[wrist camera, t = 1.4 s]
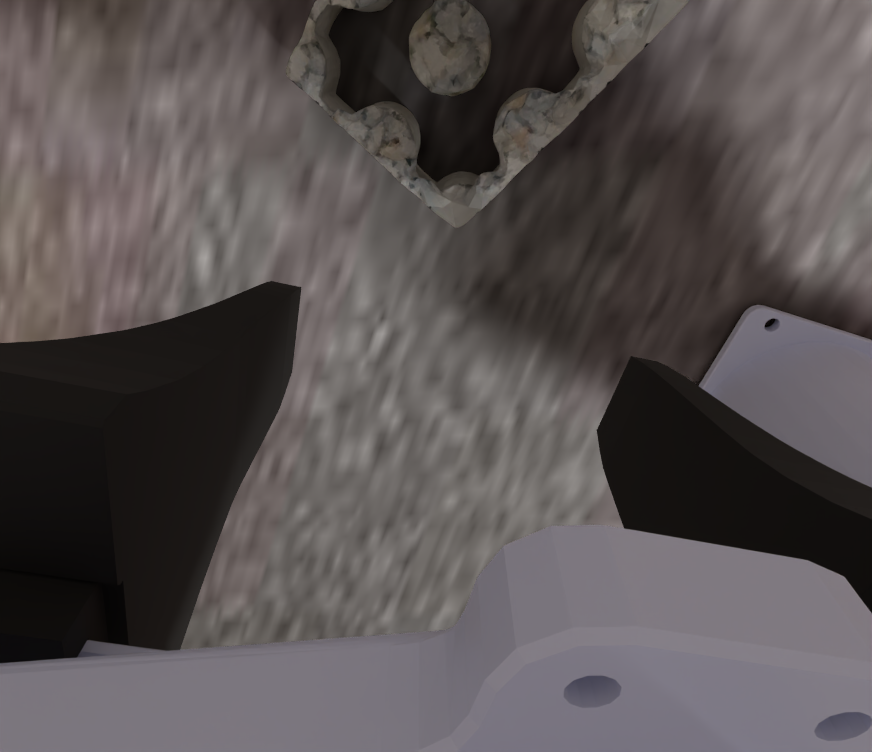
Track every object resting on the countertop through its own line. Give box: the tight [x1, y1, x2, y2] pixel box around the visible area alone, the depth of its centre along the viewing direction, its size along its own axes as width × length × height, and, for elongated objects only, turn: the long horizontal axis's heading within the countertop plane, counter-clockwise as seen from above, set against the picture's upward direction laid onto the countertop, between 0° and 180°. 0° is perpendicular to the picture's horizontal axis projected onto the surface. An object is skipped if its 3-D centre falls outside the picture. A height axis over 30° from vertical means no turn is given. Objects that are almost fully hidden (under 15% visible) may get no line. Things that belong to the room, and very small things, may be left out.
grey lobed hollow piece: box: [286, 0, 689, 228], centre depth 15 cm, size 11×8×4 cm
